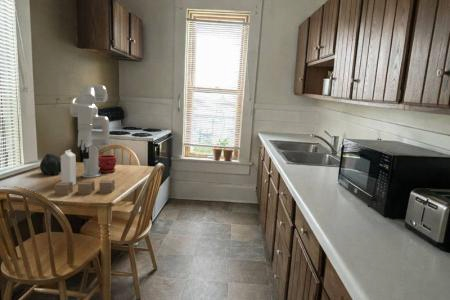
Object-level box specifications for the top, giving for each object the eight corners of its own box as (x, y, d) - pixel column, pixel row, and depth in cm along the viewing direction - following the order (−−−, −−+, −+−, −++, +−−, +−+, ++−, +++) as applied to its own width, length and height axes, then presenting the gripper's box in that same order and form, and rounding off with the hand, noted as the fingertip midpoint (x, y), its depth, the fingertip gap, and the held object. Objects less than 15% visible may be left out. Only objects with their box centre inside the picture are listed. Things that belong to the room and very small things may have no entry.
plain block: (82, 190, 181) (82, 180, 180) (94, 190, 182) (94, 180, 181) (78, 193, 174) (78, 183, 173) (90, 194, 175) (90, 184, 174)
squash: (72, 165, 219) (58, 148, 218) (58, 170, 204) (43, 153, 203) (58, 176, 222) (45, 160, 220) (44, 182, 207) (30, 165, 206)
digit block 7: (102, 188, 186) (102, 179, 185) (114, 189, 187) (114, 179, 186) (99, 192, 179) (99, 182, 178) (111, 192, 180) (111, 182, 179)
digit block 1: (60, 191, 177) (60, 181, 176) (72, 191, 178) (72, 181, 177) (55, 195, 170) (54, 184, 169) (68, 195, 171) (67, 184, 170)
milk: (61, 185, 187) (60, 150, 184) (67, 183, 193) (66, 149, 190) (70, 186, 187) (69, 151, 183) (76, 183, 193) (75, 149, 189)
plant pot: (119, 170, 233) (119, 155, 231) (109, 174, 220) (109, 158, 218) (104, 169, 236) (104, 153, 234) (93, 172, 223) (93, 156, 221)
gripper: (83, 125, 179) (83, 155, 182) (73, 128, 165) (74, 161, 168) (96, 126, 180) (96, 156, 183) (87, 128, 165) (88, 161, 169)
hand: (85, 158), depth 176 cm, fingers closed
